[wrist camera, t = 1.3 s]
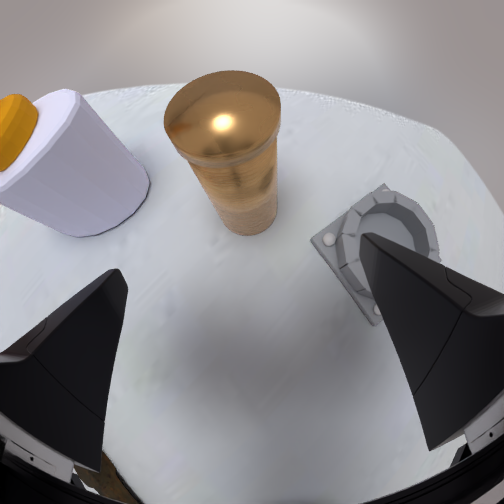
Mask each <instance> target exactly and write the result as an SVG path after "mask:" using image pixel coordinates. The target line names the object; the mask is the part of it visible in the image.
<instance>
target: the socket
mask: <svg viewBox="0 0 504 504" xmlns="http://www.w3.org/2000/svg"><path fill="white" fill-rule="evenodd" d="M367 232H373V233H376V234H378V235H380V236H382V237H385V238H387V239H389V240H391V241H394V242H396V243H398V244H400V245H402V246H404V247H407V248H409V249H411V250H413V251H415V252H417V253H419V254H421V255H424V256H426V257H428V258H430V259H432V260H434V261H436V262H438V263H440V262H441V261H442V260H441V259H440V257H439V251H440V250H439V245H438V241H437V236H436V232H435V227H434V225H433V223H432V221H431V220H430V218H429V217H428V216H427V214H426V213H425V212H424V210H423V209H422V208H421V206H420V205H419V204H417V202H416V201H414V200H412V199H410V198H408V197H406V196H404V195H402V194H400V193H398V192H396V191H391V190H390V189H389V188H388V187H387V186H386V184H385V183H384V184H382V185H381V186H380V187H378V188H377V189H376V190H375V191H373V192H371V193H369V194H368V195H366V196H365V197H364V198H362V199H361V200H360V201H358V202H357V203H356V204H354V205H353V206H352V207H351V208H350V210H348V211H347V212H346V213H344V214H343V215H342V216H341V217H339V218H338V219H337V220H335V221H334V222H333V223H331V224H330V225H329V226H327V227H326V228H325V229H323V230H322V231H320V232H319V233H318V234H316V235H315V236H314V237H312V238H311V240H310V241H311V242H312V244H313V245H314V246H315V248H316V249H317V250H318V251H319V253H320V254H321V255H322V257H323V258H324V259H325V261H326V262H327V263H328V265H329V266H330V267H331V269H332V270H333V271H334V273H335V274H336V275H337V277H338V278H339V279H340V281H341V282H342V284H343V285H344V286H345V288H346V289H347V290H348V292H349V293H350V295H351V296H352V297H353V299H354V300H355V302H356V303H357V304H358V306H359V307H360V309H361V310H362V311H363V313H364V314H365V316H366V317H367V319H368V320H369V321H370V323H371V324H372V326H376V325H378V324H379V323H380V322H381V321H382V320H383V318H382V315H381V313H380V311H379V309H378V306H377V304H376V302H375V300H374V297H373V295H372V293H371V290H370V287H369V284H368V281H367V278H366V275H365V272H364V269H363V267H362V264H361V261H360V257H359V249H360V237H361V234H362V233H367Z"/></svg>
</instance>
